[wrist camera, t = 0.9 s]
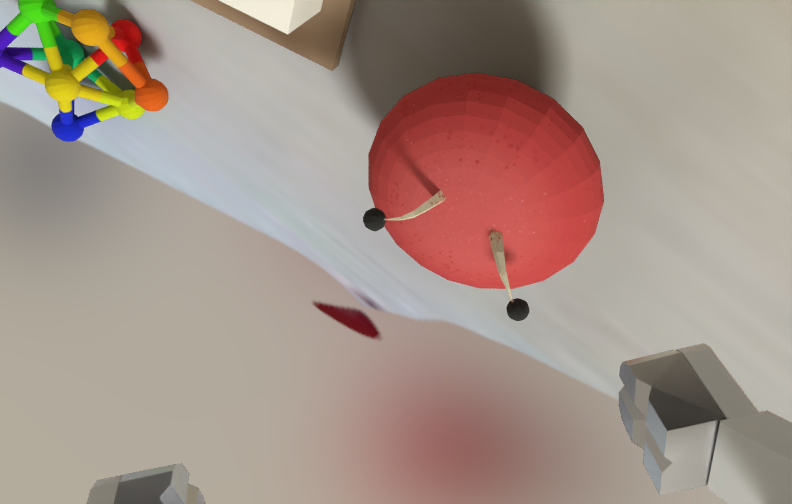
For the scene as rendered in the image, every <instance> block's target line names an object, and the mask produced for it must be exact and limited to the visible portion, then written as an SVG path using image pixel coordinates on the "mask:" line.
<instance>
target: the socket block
mask: <svg viewBox="0 0 792 504" xmlns="http://www.w3.org/2000/svg"><path fill="white" fill-rule="evenodd" d="M219 1H221V2H223V3H225V4H227V5H229V6H231V7H233V8H235V9H237V10H239V11H241V12H243V13H245V14H247V15H249V16H251V17H253V18H255V19H257V20H259V21H261V22H263V23H265V24H267V25H270V26H272V27H274V28H276V29H278V30H280V31H282V32H284V33H286V34H289V33H291V32H292V31H293V30H295V29H296V28H298V27H299V26H300V25H302V24H303V23H304V22H306V21H307V20H309V19H310V18H311V17H313V16H314V15H316V14H317V13H318V12H320V11H321V7H322V3H323V0H219Z"/></svg>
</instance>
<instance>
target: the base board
mask: <svg viewBox="0 0 792 504" xmlns="http://www.w3.org/2000/svg"><path fill="white" fill-rule="evenodd" d="M191 1H193V2H195V3H197V4H199V5H201V6H203V7H205V8H207V9H209V10H211V11H213V12H215V13H217V14H219V15H221V16H223V17H225V18H227V19H229V20H231V21H233V22H235V23H237V24H239V25H241V26H243V27H245V28H247V29H249V30H251V31H253V32H255V33H257V34H259V35H261V36H263V37H265V38H267V39H269V40H271V41H273V42H275V43H277V44H279V45H281V46H283V47H285V48H287V49H289V50H291V51H293V52H295V53H297V54H299V55H301V56H303V57H305V58H307V59H309V60H311V61H313V62H315V63H317V64H319V65H321V66H323V67H325V68H327V69H329V70H331V71H333V70H334V69H335V68H336V67H337V66H338V63H339V59H340V56H341V52H342V48H343V45H344V41H345V37H346V34H347V30H348V27H349V23H350V19H351V16H352V12H353V8H354V5H355V1H356V0H323V3H322V7H321V11H320V12H318V13H317V14H316V15H314V16H313V17H311V18H310V19H309V20H307V21H306V22H304V23H303V24H302V25H300V26H299V27H298V28H296V29H295V30H293V31H292V32H291V33H289V34H286V33H284V32H282V31H280V30H278V29H276V28H274V27H272V26H270V25H267V24H265V23H263V22H261V21H259V20H257V19H255V18H253V17H251V16H249V15H247V14H245V13H243V12H241V11H239V10H237V9H235V8H233V7H231V6H229V5H227V4H225V3H223V2H221V1H219V0H191Z"/></svg>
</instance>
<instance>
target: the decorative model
mask: <svg viewBox="0 0 792 504" xmlns="http://www.w3.org/2000/svg"><path fill="white" fill-rule="evenodd" d="M18 5H19V10H20V13H19V14H18V15H17V16H16V17H15V18H14V19H13V20H12V21H11V22H10V23H9V24H8V25H7V26H6V27H5V28H4V29H3V30H2V31H1V32H0V68H1V67H5V68H7V69H9V70H12V71H14V72H16V73H19V74H21V75H23V76H26V77H28V78H30V79H33V80H35V81H37V82H40V83H42V84H44V85H45V88H46V91H47V93H48V94H49V95H50V96H51V97H52V98H53V99H55V100H57V101H58V105H59V112H60V114H58V115H57V116H56V117H55V118H54V119H53V121H52V125H51V126H52V131H53V133H54V134H55V136H56V137H57V138H59V139H61V140H63V141H75V140H77V139H78V138H80V137H81V136H82V134H83V131H84V127H87V126H90V125H93V124H95V123H98V122H101V121H104V120H106V119H109V118H112V117H115V116H117V115H121V116H123V117H124V118H127V119H136V118H138V117H140V116H141V115H143V113H144V112H145V110H148V111H158V110H160V109H162V108H163V107H164V106H165V105H166V104H167V102H168V91H167V88H166V87H165V86H164V84H163V83H161V82H160V81H158V80H156V79H151V77H150V75H149V72H148V70H147V68H146V66H145V64H144V61H143V59H142V57H141V55H140V53H139V50H138V48H139V46H140V44H141V41H142V34H141V32H140V29H139V28H138V26H137V25H136V24H134V23H133V22H131V21H129V20H118V21H115V22H114V23H113V24H112V25H111V26H109V24H108V22H107V20H106V18H105V17H104V16H103V15H102V14H100V13H99V12H97V11H95V10H91V9H85V10H80V11H78V12H77V13H76V14H73V13H70V12H68V11H65V10H63V9H60V8H58V7H56V5H55V2H54V0H19V2H18ZM55 21H56V22H59V23H62V24H64V25H67V26H69V27H71V30H72V33H73V35H74V36H75V38H76V39H77V40H79V41H80V42H81V43H83V44H85V45H89V46H98V47H99V49H97V50H96V51H95V52H94V53H92V54H91V55H90V56H89V57H87V58H86V59H85V60H84V55H85V54H84V51H83V49H82V47H81V46H80V45H79V44H78V43H77V42H75V41H73V40H71V39H65V37H64V36H63V34H62V32H61V31H60V29H59V28H58V26H57V24H56V23H55ZM31 23H36V26H37V29H38V32H39V35H40V38H41V42H42V45H43V48H16V47H7V46H8V45H9V44H10V43H11V42H12V41H13V40H14V39H15V38H16V37H17V36H18V35H20V34H21V33H22V32H23V31H24V30H25V29H26V28H27V27H28V26H29V25H30V24H31ZM121 51H122V52H125V53H126V55H127V57H128V59H129V60H128V59H127V58H126V56H125V55H124V54H123V53H122V52H121ZM108 58H109V59H110V60H111V61H112V62H113V63H114V64H115V65H116V66H117V67H118V68H119V70H120V71H121V72H122V73H123V74H124V75H125V76H126V77H127V78H128V79H129V80H130V82H131V83H132V84H133V85H134V86H135V87H136V88H135V90H131V89H129V90H124V91H122V90H121V89H120V88H119V87H117V86H116V85H115V84H114V83H112V82H111V81H110V80H109V79H108V78H106V77H105V76H104V75H103V74H101V73H100V72H99V71H98V70H96V68H97V67H98V66H100V65H101V64H102V63H103V62H105V61H106V60H107V59H108ZM20 60H48V63H49V66H50V69H51V73H48V72H45V71H43V70H41V69H38V68H36V67H34V66H32V65H29V64H27V63H25V62H22V61H20ZM86 76H87V77H88V78H89V79H90V80H92V81H93V82H94V83H95V84H97V85H98V86H99V87H100V88H102V89H103V90H104V91H103V90H99V89H95V88H91V87H88V86H84V85H81V84H80V81H81V80H82V79H83V78H85V77H86ZM78 96H79V97H82V98H86V99H90V100H94V101H97V102H101V103H105V104H108V105H110V106H107V107H104V108H101V109H99V110H96V111H93V112H90V113H88V114H85V115H82V116H79V117H78V116H77V115H75V114H74V99H75V98H77V97H78Z"/></svg>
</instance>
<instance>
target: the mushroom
mask: <svg viewBox="0 0 792 504" xmlns="http://www.w3.org/2000/svg"><path fill="white" fill-rule="evenodd" d="M369 190H370V193H371V196H372V199H373V202H374V205H375V208H372V209H370V210H368V211H366V213H365V215H364V217H363V222H364V224H365V226H366V227H367V228H368V229H370V230H372V231H378V230H380V229H381V228H383V227H384V226H385V228H386V229H387V231H388V232H389V234H390V235H391V237H392V238H393V240H394V241H395V243H396V244H397V245H398V246H399V247H400V248H402V249H403V250H404V251H405V252H406V253H407V254H408V255H410V256H411V257H412V258H413V259H414V260H415V261H416V262H417V263H419V264H420V265H421V266H423V267H425V268H427V269H428V270H430V271H432V272H434V273H436V274H438V275H440V276H442V277H443V278H445V279H447V280H450V281H454V282H458V283H461V284H465V285H469V286H473V287H477V288H497V289H506V290H507V292H508V294H509V297H510V299H511V301H510V302H509V303H508V305H507V313H508V316H509V317H510V318H511V319H513V320H516V321H521V320H524V319H525V318H526V317H527V316H528V313H529V307H528V304H527V302H526V301H524V300H521V299H519V298H517V299H513V300H512V296H511V291H510V289H513V288H517V287H521V286H525V285H529V284H533V283H536V282H540V281H543V280H545V279H547V278H549V277H550V276H552V275H553V274H555V273H557V272H558V271H560V270H561V269H563V268H564V267H566V266H568V265H569V264H571V263H572V262H574V260H575V259H576V258H577V257H578V255H579V254H580V253H581V251H582V250H583V249H584V247H585V246H586V245H587V244H588V242H589V241H590V240H591V238H592V237H593V235H594V234H595V231H596V228H597V224H598V221H599V217H600V213H601V210H602V206H603V203H604V195H603V186H602V177H601V168H600V161H599V159H598V157H597V155H596V153H595V151H594V149H593V147H592V145H591V143H590V141H589V139H588V137H587V135H586V133H585V131H584V129H583V127H582V126H581V125H580V124H579V123H578V122H577V121H576V120H575V119H574V118H573V117H572V116H571V115H570V114H569V113H568V112H567V111H566V110H565V109H564V108H563V107H562V106H561V105H560V104H558V103H557V102H556V101H555V100H554V99H553V98H551V97H549V96H547V95H545V94H543V93H541V92H539V91H538V90H536V89H534V88H532V87H530V86H528V85H526V84H524V83H522V82H520V81H518V80H515V79H509V78H504V77H498V76H492V75H487V74H481V73H471V74H463V75H456V76H449V77H441V78H437V79H435V80H434V81H432V82H430V83H428V84H426V85H424V86H422V87H420V88H418V89H416V90H414V91H412V92H410V93H408V94H406V95H405V96H403V97H402V98H401V100H400V101H399V102H398V103H397V104H396V105H395V106H394V107H393V108H392V110H391V111H390V112H389V113H388V114H387V115H386V116H385V117H384V118H383V120H382V121H381V123H380V125H379V128H378V131H377V133H376V136H375V139H374V141H373V144H372V147H371V149H370V152H369Z"/></svg>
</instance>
